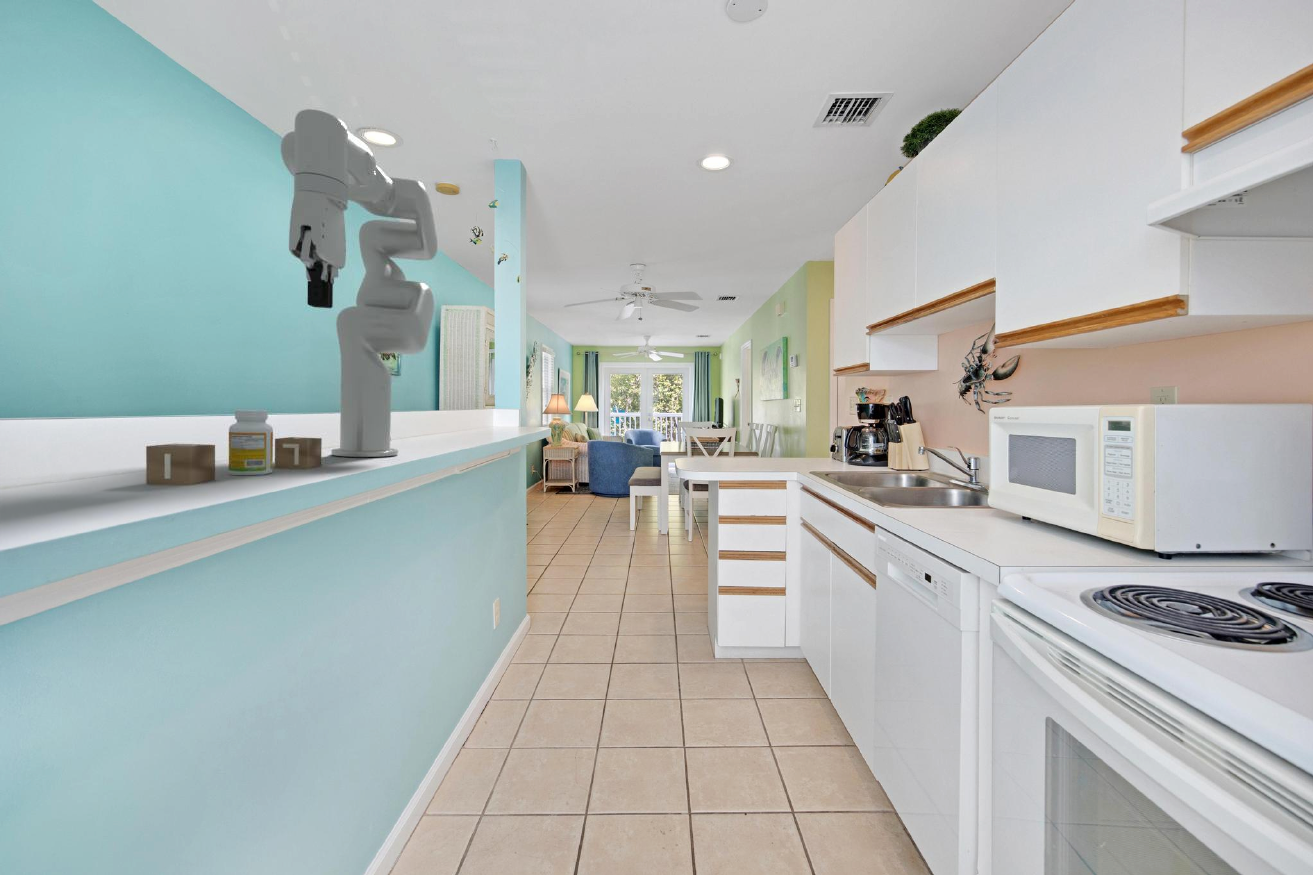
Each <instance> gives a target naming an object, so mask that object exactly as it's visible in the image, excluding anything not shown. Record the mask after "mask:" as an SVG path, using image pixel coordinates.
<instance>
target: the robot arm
mask: <svg viewBox="0 0 1313 875" xmlns="http://www.w3.org/2000/svg"><path fill="white" fill-rule="evenodd" d="M280 153H281V158H282V161H283V163H284V165H285V167H286V169H287V171H288V172H289V173H290V174H291V175H292V176H293V199H292V203H291V209H290V220H289V221H290V222H289V231H288V232H289V233H288V235H289V236H288V250H289V252H290V254H291V255H292V256H293V257H294V258H296V259H298V260H300V262H301V263H302V264H303V265H304V267H305V277H306V280H307V301H306V302H307V305H308V306H310V307H313V308H319V309H322V308H323V309H332V308H333V306H334V305H333V304H334V303H333V302H334V301H333V300H334V299H333V297H334V292H333V291H334V284H335V278H336V279H337V278H339V270H342V269H344V268H345V267H346V261H347V260H346V258H347V242H346V239H347V238H346V237H347V236H346V224H345V223H346V222H345V213H344V212H345V211H347V210H348V202H349V201H351V202H354V203H356V204H358V205H359V206H360V207H361V208H363V209H364V210H366V212H369V213H370V214H371V215H375V216H378V217H383V218H384V217H385V218H393V219H402V220H411V221H415V222H410V221H409V222H408V221H400V220H399V221H398V220H388V219H372V220H367V221H365V222H364V223H363V224H362V225H361V226H360V229H359V232H358V241H359V249H360V254H361V259H362V263H363V266H364V269H365V274H364V277H363V278H362V282H361V284H360V285H359V288H358V291H357V294H356V299H355V302H356V304H355V305H354V306H353V305H352V306H349V307H345V308H343V309H342V310H340V312H339V313H338V314H337V317H336V323H335V324H336V334H337V338H338V344H339V345H338V346H339V351H340V352H339V353H340V426H339V427H340V428H339V430H340V433H339V437H340V438H339V440H340V441H339V444H340V445H339V448H338V447H337V448H332V449H331V450H330V452H331V456H336V457H337V456H338V457H347V458H348V457H349V458H350V457H351V458H376V457H377V458H378V457H379V458H380V457H392V456H393V457H394V456H397V455H398V454H399V451H398V449H396V448H391V441H392V438H391V417H392V416H391V415H392V414H391V413H392V412H391V411H392V375H391V374H392V373H391V371H390V369H389V367H388V365H387V364H386V363H385V362H384V361H383V360H382V358H381V357H380V355H379V354H398V355H417V354H420V353H421V352H423V351H424V349H426V346H427V342H428V339H429V334H430V331H431V327H432V322H433V317H434V311H435V301H434V296H433V292H432V290H431V288H430V287H429V286H428V285H426V283H423V282H421V281H420V282H419V281H414V280H413V281H411V280H407V279H406V275H405V273H404V272H403V270H402V269H401V268H400V267H399V266H398V264H397V263H396V262H395V261H394V260H393V259H403V260H415V261H430V260H433V259H434V258H435V257H436V256H437V253H438V236H437V230H436V225H435V220H434V214H433V208H432V204H431V200H430V196H429V194H428V192H427V190H426V188H425V186H424V184H423V183H422V182H420V181H418V180H415V179H408V178H401V177H399V178H398V177H393V176H387V175H386V174H385V173H384V172H383V171H382V169H381V168H380V167H378V165H377V163H376V158H375V156H374V154H373V153H372V152H371V150H370V148H369V147H368V146H367V145H366V144H365V143H364V142H363V141H361V139H359V138H358V137H356V136H355V135H354V134H352V133H351V132H350V131H349V130H348V128H347V126H346V124H345V123H344V122H343V121H342V120H341V119H340V118H339V117H337V116H335V115H334V114H331V113H328V112H326V111H322V110H318V109H311V108H310V109H309V108H308V109H307V108H306V109H302V110H300V111H299V112H297V113H296V114H295V118H294V131H290V132H288V133H286V134H285V135H284V136H283V137H282V140H281V142H280ZM391 258H392V259H391Z"/></svg>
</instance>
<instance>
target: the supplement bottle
mask: <svg viewBox="0 0 1313 875" xmlns="http://www.w3.org/2000/svg"><path fill="white" fill-rule="evenodd" d="M268 414H269V413H268V410H265V409H235V410H234V419H235V420H236V422H235V423H233V424H230V426H229V428H228V473H229V474H230V475H232V476H263V475H269V474H272V472H273V470H274V467H273V465H274V461H273V460H274V459H273V457H274V455H273V454H274V452H273V449H274V447H273V446H274V444H273V442H274V429H273V426H272V425H270V424H268V423H267V422H266V421H267V420H268V417H269V416H268Z"/></svg>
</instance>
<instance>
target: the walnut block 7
mask: <svg viewBox="0 0 1313 875" xmlns="http://www.w3.org/2000/svg"><path fill="white" fill-rule="evenodd" d="M322 440H323V439H322V438H321V437H298V436H294V437H292V436H289V437H279V438H274V469H284V470H287V469H288V470H289V469H291V470H292V469H293V470H308V469H314V468H320V467H321V466H322V451H323V450H322Z"/></svg>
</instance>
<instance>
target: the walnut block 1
mask: <svg viewBox="0 0 1313 875" xmlns="http://www.w3.org/2000/svg"><path fill="white" fill-rule="evenodd" d="M145 447H146V448H145V453H146V454H145V457H146V458H145V460H146V462H145V466H146V469H145V470H146V471H145V472H146V478H145V480H146V485H153V486H156V485H161V486H162V485H165V486H167V485H169V486H192V485H197V484H202V483H203V484H204V483H208V482H212V481H216V444H202V443H201V444H200V443H198V444H195V443H168V444H156V445H146V446H145Z"/></svg>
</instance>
